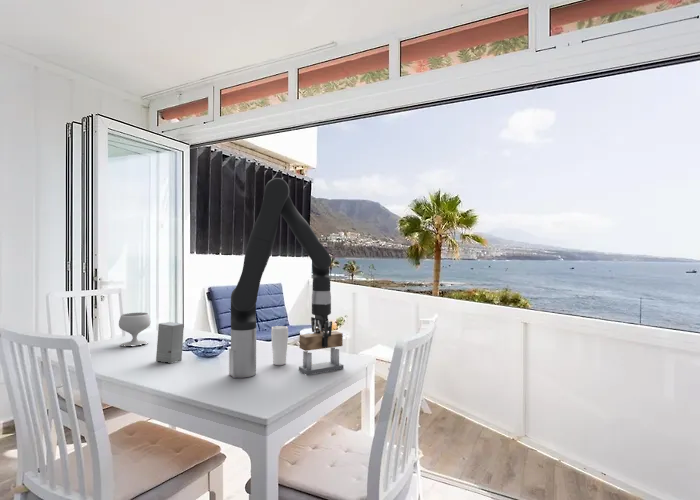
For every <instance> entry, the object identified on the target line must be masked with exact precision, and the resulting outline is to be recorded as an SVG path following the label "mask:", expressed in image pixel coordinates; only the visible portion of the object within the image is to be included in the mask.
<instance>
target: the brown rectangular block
mask: <svg viewBox="0 0 700 500" xmlns="http://www.w3.org/2000/svg"><path fill="white" fill-rule="evenodd" d="M328 333H329V331H328ZM343 345H344V344H343V332H340V331H337V330H334V331H331V336H329V337H328V346H327V347H324V348H323V347H322V334H321V333H314V332H312V333H305V334H299V349H301V350H303V351H308V352H309V351H314V350H316V351H317V350H323V349H331V347H335V348H338V347H339V348H340V347H343Z"/></svg>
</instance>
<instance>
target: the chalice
mask: <svg viewBox="0 0 700 500" xmlns="http://www.w3.org/2000/svg"><path fill="white" fill-rule="evenodd" d="M150 326H151V317H150V315H149V313H148V312H130V313H124V314H123V313H122V314H121V315H120V317H119V321H118V327H119V329H120V330H122V331H123V332H126V333H128V334H130V335H131V336H132V339H131V340H130V341H127V342H123V343H120V346H121V345H125V346H124V347H126V346H131V345H140V344H145V345H147V344H148V343H147V342H148V341H147V340H139V339H138V335H139V334H140V333H141V332H143V331H145V330H147V328H149V327H150ZM146 341H147V342H146ZM146 343H147V344H146Z"/></svg>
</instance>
